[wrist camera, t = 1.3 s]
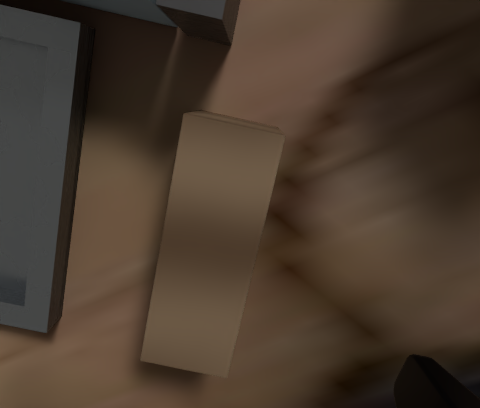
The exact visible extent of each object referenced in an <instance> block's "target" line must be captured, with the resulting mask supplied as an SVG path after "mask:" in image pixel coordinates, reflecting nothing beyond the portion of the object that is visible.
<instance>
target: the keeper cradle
mask: <svg viewBox="0 0 480 408" xmlns="http://www.w3.org/2000/svg"><path fill="white" fill-rule="evenodd" d="M94 36H95V29H93V28H91V27H89V26H87V25H84V24H82V23H79V22H75V21H71V20H66V19H62V18H57V17H53V16H49V15H44V14H40V13H35V12H31V11H27V10H22V9H18V8H14V7H9V6H5V5H0V324H4V325H9V326H14V327H19V328H24V329H28V330H33V331H38V332H43V333H47V332H48V331H49V330H50V329H51V328H52V327H53V325H54V324H55V323H56V322H57V321H58V320H59V319H60V317H61V316H62V307H63V299H64V290H65V282H66V273H67V265H68V256H69V248H70V239H71V231H72V222H73V214H74V205H75V197H76V188H77V180H78V171H79V163H80V154H81V146H82V137H83V129H84V120H85V112H86V104H87V95H88V87H89V78H90V70H91V61H92V53H93V44H94Z"/></svg>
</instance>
